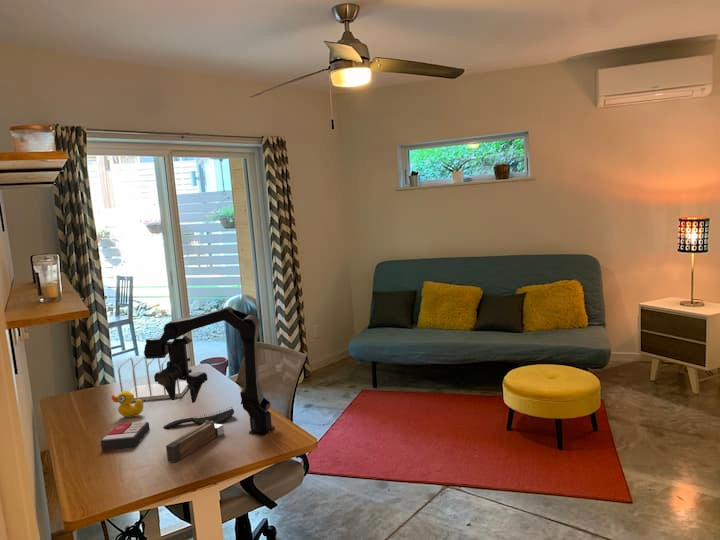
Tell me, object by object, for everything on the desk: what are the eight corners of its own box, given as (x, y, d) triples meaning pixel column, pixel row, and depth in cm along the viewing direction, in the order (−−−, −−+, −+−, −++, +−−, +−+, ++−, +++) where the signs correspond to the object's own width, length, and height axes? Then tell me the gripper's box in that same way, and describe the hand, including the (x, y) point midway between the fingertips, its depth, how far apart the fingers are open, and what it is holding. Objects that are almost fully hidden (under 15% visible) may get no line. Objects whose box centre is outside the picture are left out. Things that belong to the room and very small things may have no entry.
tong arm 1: (211, 436, 178) (209, 420, 177) (171, 461, 161) (169, 444, 161) (208, 435, 179) (206, 420, 178) (167, 461, 162) (165, 444, 161)
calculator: (149, 419, 188) (134, 435, 174) (150, 431, 189) (135, 448, 174) (117, 422, 188) (99, 439, 173) (118, 434, 188) (101, 451, 173)
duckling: (111, 420, 199) (107, 395, 198) (117, 414, 205) (114, 390, 204) (141, 418, 200) (138, 392, 198) (146, 412, 205) (143, 387, 204)
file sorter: (191, 384, 236) (188, 350, 235) (181, 398, 219) (177, 361, 217) (134, 389, 235) (130, 355, 233) (120, 403, 217) (115, 367, 216)
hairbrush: (164, 417, 192) (233, 403, 198) (165, 426, 193) (235, 413, 198) (160, 426, 184) (233, 411, 190) (162, 436, 185) (235, 421, 190)
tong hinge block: (224, 433, 180) (223, 424, 180) (218, 437, 177) (217, 428, 177) (213, 432, 182) (212, 423, 182) (207, 435, 179) (207, 426, 179)
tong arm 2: (216, 436, 177) (214, 421, 176) (175, 462, 161) (173, 445, 160) (212, 436, 178) (211, 420, 177) (171, 461, 161) (169, 444, 160)
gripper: (139, 362, 174) (144, 407, 176) (182, 365, 167) (187, 413, 169) (164, 352, 185) (169, 395, 186) (206, 355, 177) (211, 400, 179)
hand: (183, 401), depth 180 cm, fingers open, 9 cm apart
